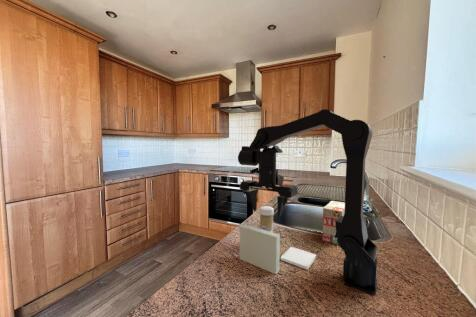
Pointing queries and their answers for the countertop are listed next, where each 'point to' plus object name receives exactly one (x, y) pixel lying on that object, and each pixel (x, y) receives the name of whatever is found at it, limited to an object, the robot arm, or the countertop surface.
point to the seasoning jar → (266, 218)
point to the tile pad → (298, 257)
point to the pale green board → (260, 248)
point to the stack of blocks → (331, 220)
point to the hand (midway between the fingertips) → (266, 213)
